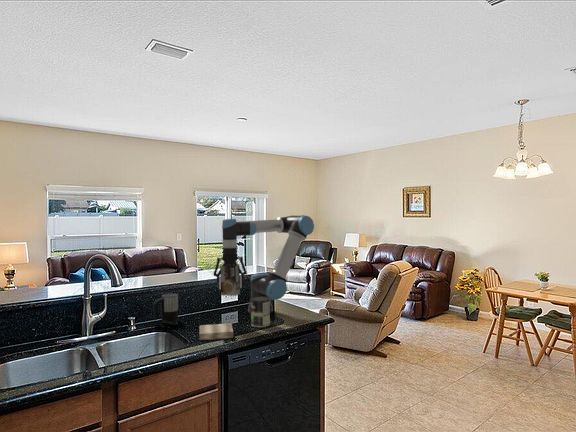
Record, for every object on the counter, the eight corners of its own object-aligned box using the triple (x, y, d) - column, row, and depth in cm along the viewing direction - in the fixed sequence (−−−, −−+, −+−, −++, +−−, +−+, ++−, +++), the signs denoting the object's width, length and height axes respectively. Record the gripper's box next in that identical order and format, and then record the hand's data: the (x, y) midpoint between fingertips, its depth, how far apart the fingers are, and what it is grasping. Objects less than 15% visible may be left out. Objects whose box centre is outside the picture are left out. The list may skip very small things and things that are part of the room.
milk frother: (171, 318, 213) (171, 292, 213) (190, 322, 205) (190, 295, 205) (150, 324, 201) (150, 297, 201) (170, 328, 193) (169, 300, 193)
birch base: (231, 328, 192) (231, 323, 192) (233, 337, 178) (233, 331, 178) (199, 331, 188) (199, 325, 188) (199, 340, 175) (199, 333, 175)
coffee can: (253, 328, 193) (253, 301, 193) (249, 322, 203) (249, 297, 203) (272, 326, 196) (272, 299, 196) (267, 321, 206) (267, 295, 206)
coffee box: (240, 293, 202) (240, 264, 202) (236, 296, 196) (235, 265, 196) (225, 292, 204) (224, 263, 204) (220, 295, 198) (219, 265, 198)
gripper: (208, 248, 193) (208, 290, 194) (251, 247, 199) (252, 288, 199) (207, 247, 201) (208, 288, 201) (250, 246, 206) (250, 285, 206)
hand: (230, 288), depth 200 cm, fingers closed on coffee box, 10 cm apart
